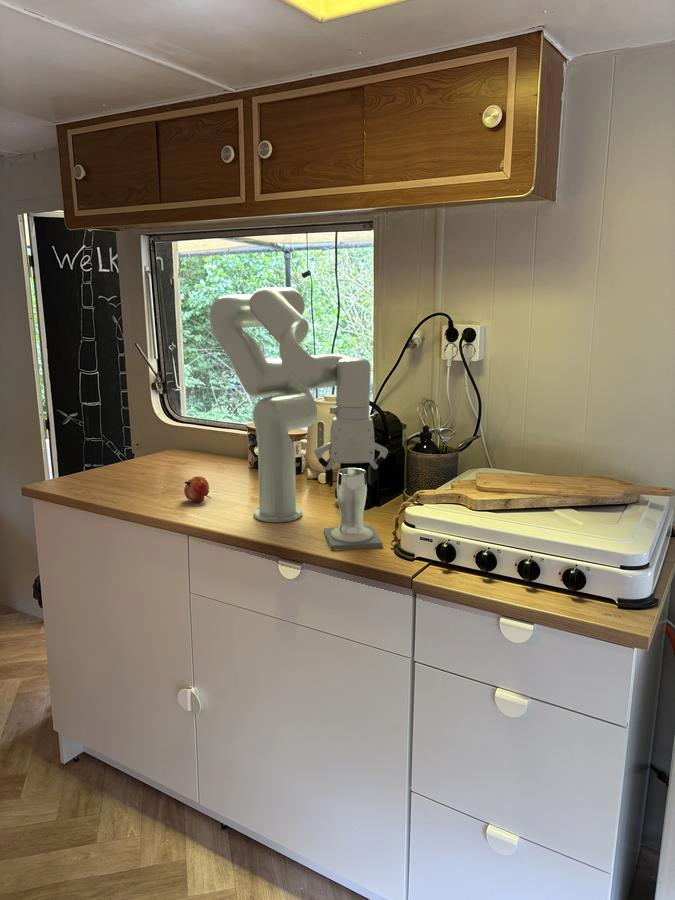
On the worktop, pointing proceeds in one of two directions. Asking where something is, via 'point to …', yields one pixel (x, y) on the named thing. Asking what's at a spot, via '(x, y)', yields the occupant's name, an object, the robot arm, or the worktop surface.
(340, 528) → the beer glass
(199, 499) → the pomegranate
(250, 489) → the worktop surface
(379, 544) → the coaster board
